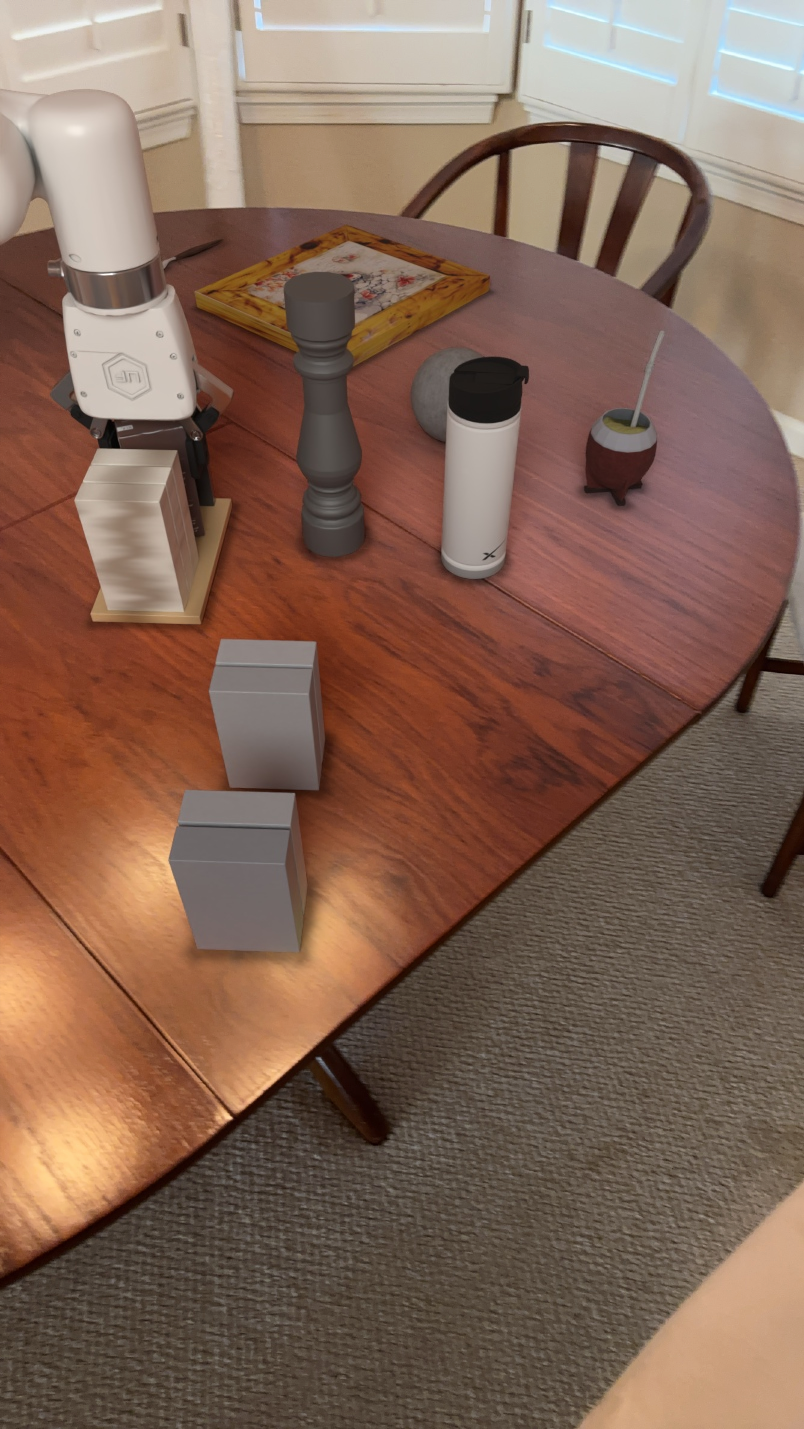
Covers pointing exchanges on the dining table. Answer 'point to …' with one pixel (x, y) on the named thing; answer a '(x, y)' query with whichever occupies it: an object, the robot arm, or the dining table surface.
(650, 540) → the dining table surface
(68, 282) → the robot arm
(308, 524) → the candle holder
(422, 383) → the decorative ball
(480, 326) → the dining table surface
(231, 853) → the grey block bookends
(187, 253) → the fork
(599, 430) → the mate gourd
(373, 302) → the picture frame
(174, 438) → the box
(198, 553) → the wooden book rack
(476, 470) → the travel mug
